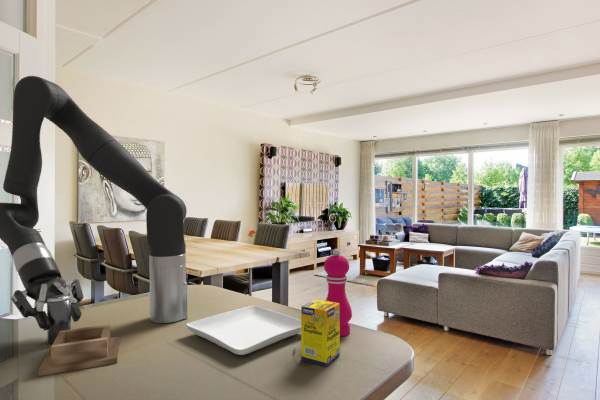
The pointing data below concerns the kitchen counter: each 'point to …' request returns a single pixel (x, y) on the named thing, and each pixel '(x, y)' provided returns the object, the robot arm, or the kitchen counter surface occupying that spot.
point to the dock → (80, 350)
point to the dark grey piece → (58, 315)
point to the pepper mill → (338, 287)
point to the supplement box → (320, 332)
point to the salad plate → (246, 328)
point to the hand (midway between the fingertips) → (63, 323)
